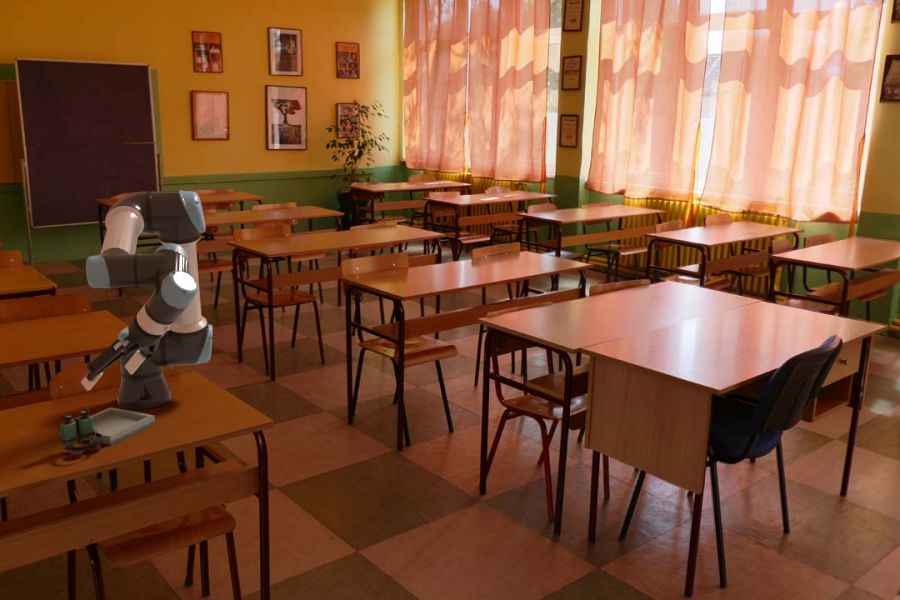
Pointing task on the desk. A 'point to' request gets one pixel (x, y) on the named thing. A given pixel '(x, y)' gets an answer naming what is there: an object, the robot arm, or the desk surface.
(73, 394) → the desk surface
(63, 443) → the binoculars
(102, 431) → the tray
